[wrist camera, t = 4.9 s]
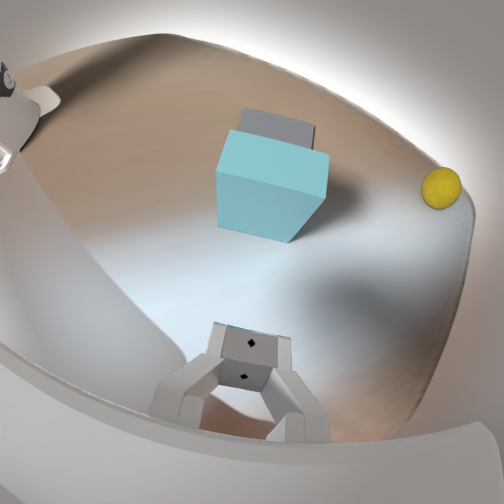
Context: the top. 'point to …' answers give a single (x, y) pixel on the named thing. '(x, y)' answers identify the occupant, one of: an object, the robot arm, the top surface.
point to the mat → (276, 127)
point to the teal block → (268, 186)
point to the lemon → (441, 188)
